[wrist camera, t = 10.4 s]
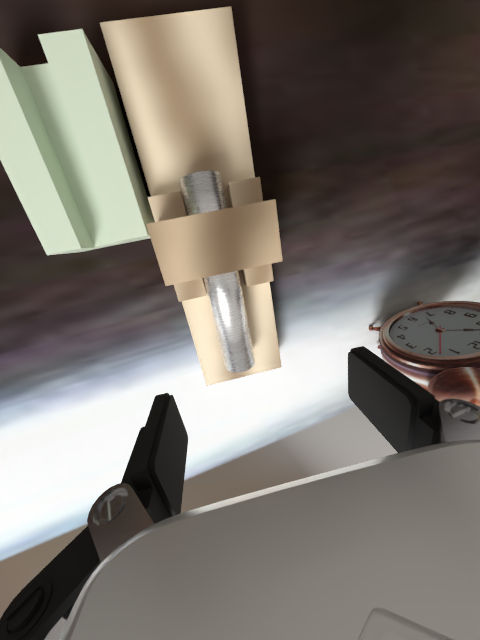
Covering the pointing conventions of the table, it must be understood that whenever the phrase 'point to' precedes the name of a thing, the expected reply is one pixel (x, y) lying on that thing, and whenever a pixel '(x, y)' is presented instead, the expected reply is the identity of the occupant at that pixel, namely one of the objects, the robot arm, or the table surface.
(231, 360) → the steel axle
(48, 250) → the block
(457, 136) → the table surface
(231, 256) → the maple beam
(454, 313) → the alarm clock
